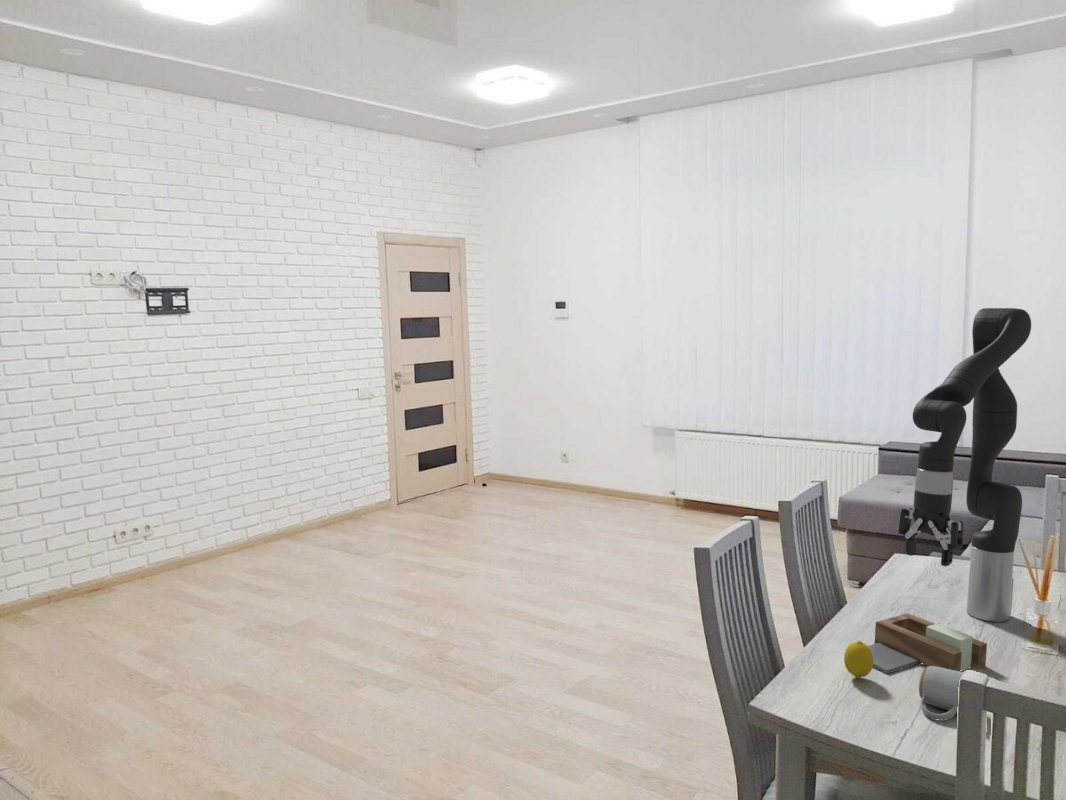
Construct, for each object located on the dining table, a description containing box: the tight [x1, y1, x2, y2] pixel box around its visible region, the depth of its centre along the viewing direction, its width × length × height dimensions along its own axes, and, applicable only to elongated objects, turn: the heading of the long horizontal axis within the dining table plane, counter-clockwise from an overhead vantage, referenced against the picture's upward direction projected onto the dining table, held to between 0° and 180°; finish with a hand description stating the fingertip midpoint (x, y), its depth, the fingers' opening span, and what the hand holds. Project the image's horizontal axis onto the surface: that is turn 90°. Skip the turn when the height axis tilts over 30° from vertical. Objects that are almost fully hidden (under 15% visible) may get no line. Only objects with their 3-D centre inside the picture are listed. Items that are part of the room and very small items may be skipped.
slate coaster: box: [867, 643, 919, 674], centre depth 174 cm, size 10×10×1 cm
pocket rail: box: [874, 612, 988, 672], centre depth 177 cm, size 11×19×5 cm, turn 28°
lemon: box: [843, 640, 874, 679], centre depth 165 cm, size 6×6×8 cm
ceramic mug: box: [918, 666, 965, 721], centre depth 152 cm, size 11×8×8 cm
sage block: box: [926, 622, 973, 671], centre depth 173 cm, size 4×8×7 cm, turn 28°
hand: (927, 560), depth 181 cm, fingers open, 8 cm apart
